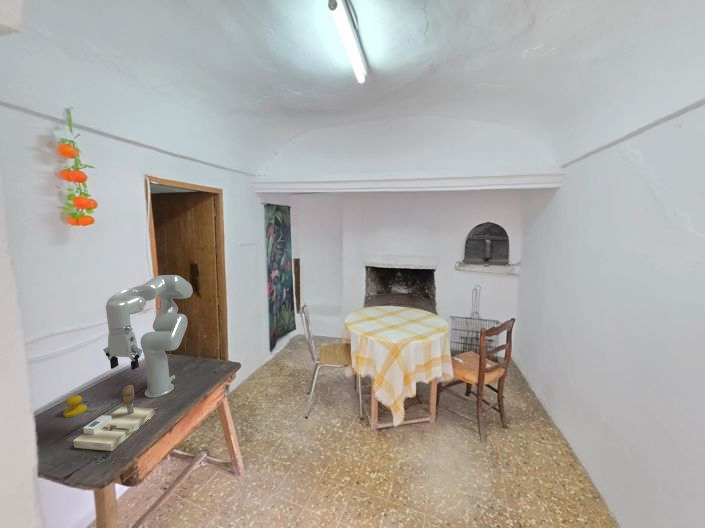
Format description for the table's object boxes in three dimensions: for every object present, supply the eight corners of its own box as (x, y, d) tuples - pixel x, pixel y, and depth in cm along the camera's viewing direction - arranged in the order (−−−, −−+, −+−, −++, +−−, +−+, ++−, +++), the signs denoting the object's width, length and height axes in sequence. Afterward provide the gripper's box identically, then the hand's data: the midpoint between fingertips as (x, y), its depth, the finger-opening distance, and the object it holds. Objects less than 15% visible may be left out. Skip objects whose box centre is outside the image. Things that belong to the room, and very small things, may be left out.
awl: (130, 409, 137) (127, 384, 136) (138, 410, 137) (135, 385, 135) (122, 415, 133) (119, 389, 132) (131, 416, 133) (128, 390, 131)
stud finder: (102, 420, 130) (101, 415, 130) (112, 421, 130) (111, 415, 129) (84, 433, 122) (83, 427, 122) (94, 434, 122) (93, 428, 121)
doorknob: (78, 405, 146) (91, 408, 144) (59, 415, 138) (72, 418, 136) (76, 390, 145) (89, 393, 143) (56, 400, 137) (69, 403, 135)
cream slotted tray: (122, 412, 140) (122, 406, 140) (154, 414, 139) (154, 408, 138) (74, 447, 119) (73, 440, 118) (111, 450, 117) (110, 443, 117)
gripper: (145, 327, 132) (150, 364, 135) (109, 326, 134) (114, 362, 137) (131, 334, 125) (136, 373, 127) (93, 332, 127) (98, 371, 129)
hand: (125, 367), depth 132 cm, fingers open, 9 cm apart
